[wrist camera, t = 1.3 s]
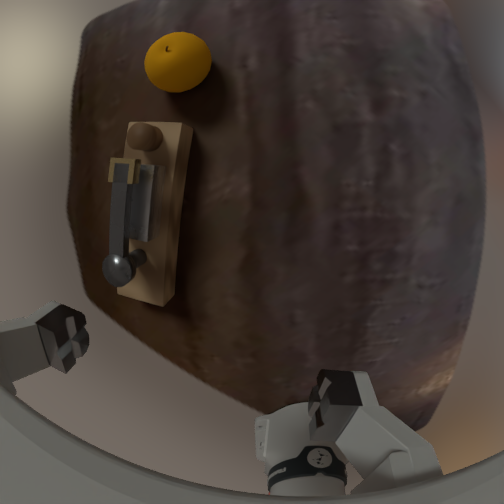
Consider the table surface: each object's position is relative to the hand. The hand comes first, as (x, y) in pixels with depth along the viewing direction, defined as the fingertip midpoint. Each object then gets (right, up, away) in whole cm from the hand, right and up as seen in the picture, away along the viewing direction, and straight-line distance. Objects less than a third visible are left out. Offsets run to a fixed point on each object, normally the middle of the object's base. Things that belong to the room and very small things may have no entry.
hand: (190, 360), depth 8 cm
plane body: (-10, +9, +26) cm, 29 cm away
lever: (-11, +6, +18) cm, 22 cm away
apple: (-6, +27, +20) cm, 34 cm away
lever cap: (-10, +10, +21) cm, 25 cm away
